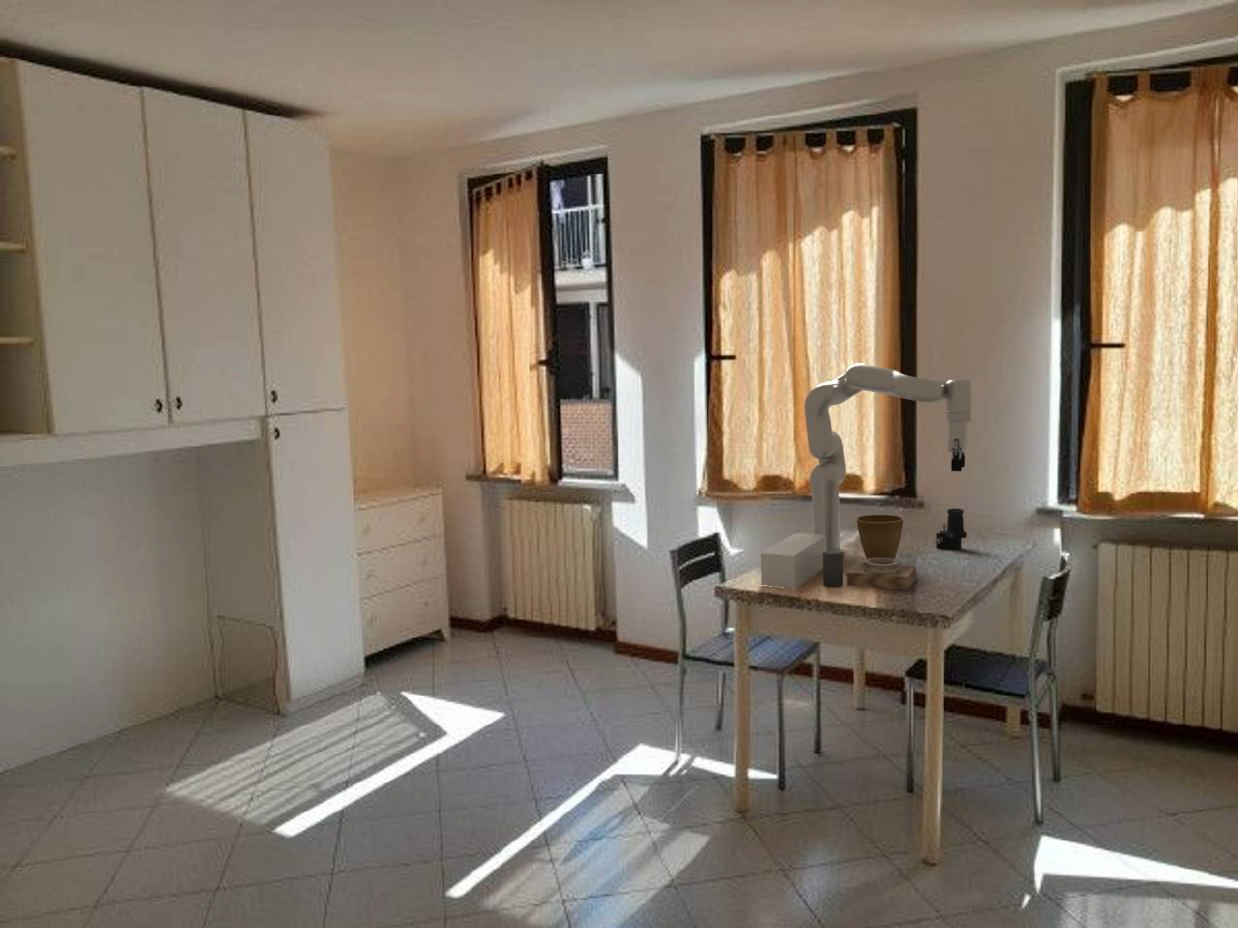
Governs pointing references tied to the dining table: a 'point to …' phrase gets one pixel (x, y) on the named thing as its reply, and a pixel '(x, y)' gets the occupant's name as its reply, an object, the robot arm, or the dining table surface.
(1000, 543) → the dining table surface
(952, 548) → the scope
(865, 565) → the wooden block
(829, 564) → the lens
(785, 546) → the stack of papers
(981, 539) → the dining table surface
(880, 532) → the plant pot
